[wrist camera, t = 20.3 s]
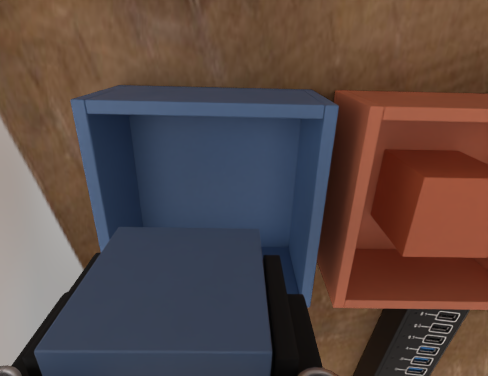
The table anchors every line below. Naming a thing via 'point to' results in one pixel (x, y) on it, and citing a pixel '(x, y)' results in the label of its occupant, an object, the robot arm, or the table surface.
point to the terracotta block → (433, 203)
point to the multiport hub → (409, 341)
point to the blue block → (166, 308)
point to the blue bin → (212, 164)
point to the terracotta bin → (363, 191)
